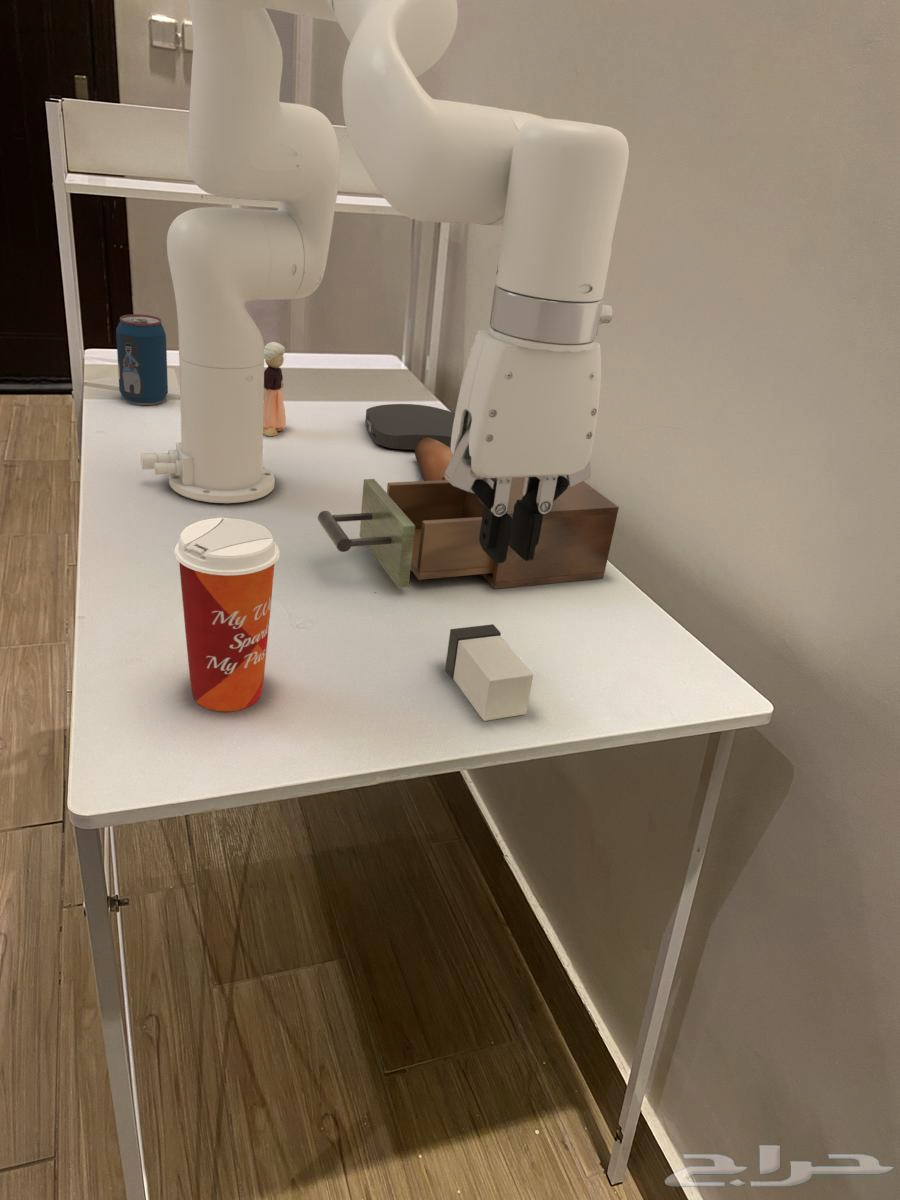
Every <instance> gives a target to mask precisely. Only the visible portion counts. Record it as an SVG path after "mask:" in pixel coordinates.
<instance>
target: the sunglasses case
mask: <svg viewBox="0 0 900 1200" xmlns="http://www.w3.org/2000/svg"><path fill="white" fill-rule="evenodd" d="M414 456H415V460H416V462H417V465H418V468H419V471H420V474H421V476H422V481H435V480H446V479H445V477H444V473H445V471H446V469H447V467H448V465H449V463H450V461H451V459H452V457H453V454H452V452H451V448H449V447H448V446H446V445H444V444H443V443H441V442H439V441H437V440H435V439H432V438H424V439H422V440H421V441H420V442H419V443H418V444H417V446H416V449H415V450H414Z"/></svg>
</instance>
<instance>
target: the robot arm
mask: <svg viewBox="0 0 900 1200" xmlns="http://www.w3.org/2000/svg"><path fill="white" fill-rule="evenodd" d="M187 3H188V8H189V13H190V21H191V27H192V28H191V29H192V59H191V60H192V61H191V73H190V74H191V78H190V92H189V109H188V113H189V114H188V129H187V130H188V131H187V162H188V168H189V169H188V170H189V172H190V175H191V178H192V180H193V182H194V183H195V184H196V186H197V187H198V188H199V189H200V190H202V191H204V192H205V193H207V194H209V195H212V196H216V197H220V198H223V199H224V198H225V199H235V200H248V201H266V202H277V203H278V204H277V210H276V209H259V208H258V209H257V208H248V207H247V208H246V207H228V206H227V207H226V206H225V207H224V206H205V207H204V206H203V207H197V208H192V209H189V210H186V211H184V212H182V213H181V214H179V215H178V216H176V217H175V218H174V220H173V221H172V222H171V223H170V224H171V225H169V228H168V231H167V235H166V253H167V260H168V266H169V272H170V276H171V281H172V286H173V292H174V299H175V306H176V307H175V308H176V314H177V315H176V316H177V317H176V318H177V333H178V334H177V335H178V360H179V396H180V397H179V398H180V399H179V401H180V402H179V403H180V441H181V442H176V443H175V449H168V451H167V452H165V453H157V452H141V453H140V463H141V464H140V466H141V469H142V470H154V475H157V476H158V475H168V485H169V486H170V489H172V490H173V491H174V492H175V493H177V494H179V495H181V496H183V497H185V498H187V499H191V500H195V501H199V502H204V503H211V504H239V503H246V502H252V501H256V500H259V499H261V498H264V497H265V496H268V495H269V494H270V493H271V492H272V491H273V490H274V489H275V481H276V478H275V475H274V474H273V472H272V471H271V470H269V469H268V468H267V467H265V466H263V453H264V452H263V450H264V449H263V447H264V446H263V445H264V434H263V402H264V371H265V359H264V347H265V342H264V340H263V339H264V338H263V335H262V333H261V331H260V329H259V327H258V325H257V324H256V323H255V321H254V319H253V318H252V316H250V314H249V312H248V310H247V308H246V306H245V303H246V302H253V301H254V302H255V301H275V300H278V301H280V300H281V301H282V300H298V299H303V298H307V297H309V296H311V295H313V294H314V293H315V292H316V291H317V290H318V288H319V287H320V285H321V283H322V281H323V278H324V275H325V273H326V272H325V271H326V267H327V262H328V256H329V250H330V244H331V238H332V231H333V225H334V224H333V223H334V218H335V211H336V205H337V199H338V193H339V186H340V185H339V184H340V175H341V151H340V146H339V141H338V137H337V133H336V130H335V129H334V126H333V124H332V122H331V121H330V120H329V118H328V117H327V116H326V114H324V113H323V112H321V111H320V110H318V109H316V108H314V107H311V106H308V105H305V104H300V103H292V102H284V101H280V97H281V96H280V95H281V83H282V75H283V67H284V66H283V65H284V56H283V50H282V45H281V42H280V38H279V35H278V33H277V30H276V29H275V25H274V23H273V22H272V19H271V16H270V14H269V13H268V11H267V9H268V10H273V11H279V12H284V13H287V14H293V15H297V16H302V17H307V18H313V19H318V20H323V21H329V22H334V23H337V24H339V26H340V28H341V30H342V32H343V33H344V35H345V37H346V38H347V41H348V42H349V43H350V44H349V46H348V48H347V52H346V56H345V59H344V63H343V70H342V80H341V81H342V82H341V99H342V112H343V119H344V125H345V128H346V132H347V136H348V138H349V140H350V143H351V146H352V147H353V149H354V151H355V153H356V155H357V157H358V159H359V160H360V162H361V163H362V166H363V167H364V169H365V171H366V173H367V174H368V176H369V178H370V179H371V181H372V183H373V185H374V187H376V189H377V190H378V192H379V193H380V195H381V196H382V197H383V198H384V199H385V201H386V202H387V203H388V204H389V205H390V206H391V207H392V208H393V209H394V210H395V211H397V212H399V214H402V215H403V216H404V217H407V218H409V219H411V220H413V221H418V222H424V223H425V222H426V223H443V224H445V223H446V224H447V223H449V224H472V225H476V224H477V225H481V226H497V227H498V226H501V227H502V229H501V235H500V236H501V237H500V244H499V252H498V259H497V266H496V267H497V268H496V274H495V284H494V287H493V289H494V290H493V295H492V305H491V311H490V320H489V328H488V329H479V330H478V331H477V332H476V334H475V338H474V341H473V343H472V346H471V349H470V351H469V354H468V359H467V362H466V365H465V368H464V372H463V376H462V379H461V384H460V388H459V393H458V397H457V402H456V406H455V412H454V413H455V417H454V423H453V429H452V436H451V452H452V454H453V457H452V459H451V461H450V463H449V465H448V467H447V469H446V471H445V473H444V477H445V479H446V480H447V481H448V482H449V483H450V484H451V485H453V486H455V487H457V488H460V489H462V490H465V491H468V492H471V493H473V494H474V495H475V496H476V497H477V498H478V499H479V501H480V502H481V503H482V504H483V505H484V508H483V515H482V522H481V529H480V536H479V541H480V545H481V547H482V549H483V550H484V551H485V552H486V553H487V554H488V555H489V556H490V557H491V559H492V560H493V561H494V562H495V563H504V561H506V557H507V551H508V545H509V546H510V547H511V548H512V549H513V550H514V551H515V552H516V553H517V554H518V555H519V556H520V557H521V558H522V559H524V560H525V561H531V560H533V558H534V553H535V547H536V545H537V544H538V542H539V537H540V531H541V526H542V520H543V514H546V513H548V512H549V511H550V510H551V508H552V504H553V502H554V501H555V500H556V499H557V498H558V497H559V496H560V495H561V494H562V493H563V492H564V491H565V490H566V489H567V488H568V487H569V486H570V487H571V486H573V485H576V484H578V483H580V482H582V481H584V482H586V481H587V480H589V478H590V477H591V475H592V470H591V464H590V458H591V455H592V451H593V448H594V441H595V438H596V431H597V424H598V416H599V408H600V400H601V399H600V398H601V383H602V353H601V352H602V351H601V345H600V343H599V342H598V341H596V336H598V332H599V327H600V325H602V324H609V323H611V321H612V319H613V315H614V309H613V306H612V305H611V304H608V303H604V300H605V299H604V293H605V288H606V283H607V279H608V278H607V277H608V271H609V267H610V261H611V257H612V250H613V245H614V240H615V234H616V230H617V223H618V218H619V213H620V208H621V204H622V203H621V202H622V197H623V192H624V187H625V182H626V177H627V171H628V166H629V165H628V164H629V157H630V148H629V143H628V140H627V137H626V136H625V135H624V134H623V133H622V132H621V131H620V130H618V129H616V128H614V127H611V126H607V125H602V124H596V123H591V122H583V121H576V120H567V119H562V118H561V119H559V118H547V117H544V116H541V115H538V114H534V113H530V112H525V111H519V110H518V111H517V110H511V109H505V108H499V107H495V106H488V105H482V104H474V103H467V102H461V101H453V100H445V99H435V98H433V97H432V96H430V95H429V94H428V93H427V91H425V89H424V88H423V87H422V85H421V83H420V82H419V81H418V79H417V78H418V77H419V76H421V75H423V74H424V73H426V72H427V71H429V70H430V69H431V68H432V67H434V65H436V63H437V62H438V61H439V60H440V59H441V58H442V56H443V55H444V54H445V52H446V51H447V49H448V48H449V46H450V44H451V42H452V40H453V38H454V36H455V32H456V29H457V25H458V19H459V8H458V0H187ZM471 469H472V471H473V472H474V473H475V474H473V473H471ZM519 477H525V482H524V488H523V495H522V496H523V497H522V500H517V501H516V503H515V505H514V511H513V517H511V516H510V515H509V514H507V509H508V502H509V496H510V489H511V482H512V478H519Z"/></svg>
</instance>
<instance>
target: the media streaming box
mask: <svg viewBox="0 0 900 1200" xmlns="http://www.w3.org/2000/svg"><path fill="white" fill-rule="evenodd" d="M454 417H455V412H454V411H450V410H446V409H443V408H439V407H435V406H430V405H423V404H415V403H414V404H413V403H391V404H388V403H387V404H380V405H375V406H372V407H369V408H366V410H365V422H364V423H365V426H366V429H367V431H368V433H369V436H370V437H371V439H372V441H373V442H374V443H375V444H378V445H379V446H381V447H385V448H390V449H394V450H409V451H410V450H413V451H415V449H416V446H417V444H418V443H419V442H420V441H421V440H422V439H424V438H432V439H435V440H437V441H439V442H441V443H443V444H444V445H446V446H448V447H449V448H451V436H452V429H453V423H454Z"/></svg>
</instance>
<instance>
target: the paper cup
mask: <svg viewBox="0 0 900 1200" xmlns="http://www.w3.org/2000/svg"><path fill="white" fill-rule="evenodd" d="M280 553H281V552H280V548H279V546H278V544H276V542H275V539H274V537H273V535H272V533H271V531H270V530H269V529H268V528H267V527H266V526H264V525H261V524H259V523H257V522H255V521H251V520H247V519H242V518H234V517H233V518H232V517H231V518H230V517H214V518H207V519H203V520H198V521H196V522H193V523H191V524H189V525H187V526H186V527H185V528H184V529H182V531H181V533H180V534H179V539H178V541H177V543H176V545H175V546H174V550H173V554H174V557H175V559H176V560H177V561H178V565H179V575H180V584H181V585H180V588H181V598H182V606H183V608H182V609H183V621H184V630H185V639H186V641H185V642H186V652H187V662H188V672H189V682H190V689H191V694H192V698H193V700H194V701H195V702H196V704H198V705H200V706H201V707H202V708H205V709H207V710H211V711H215V712H236V711H240V710H244V709H247V708H249V707H251V706H253V705H254V704H255V703H257V702H258V701H259V700H260V698H261V696H262V692H263V687H264V679H265V671H266V670H265V669H266V661H267V660H266V659H267V650H268V639H269V629H270V619H271V608H272V597H273V587H274V586H273V585H274V574H275V564H276V562H277V561H278V560H279V558H280Z"/></svg>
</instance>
